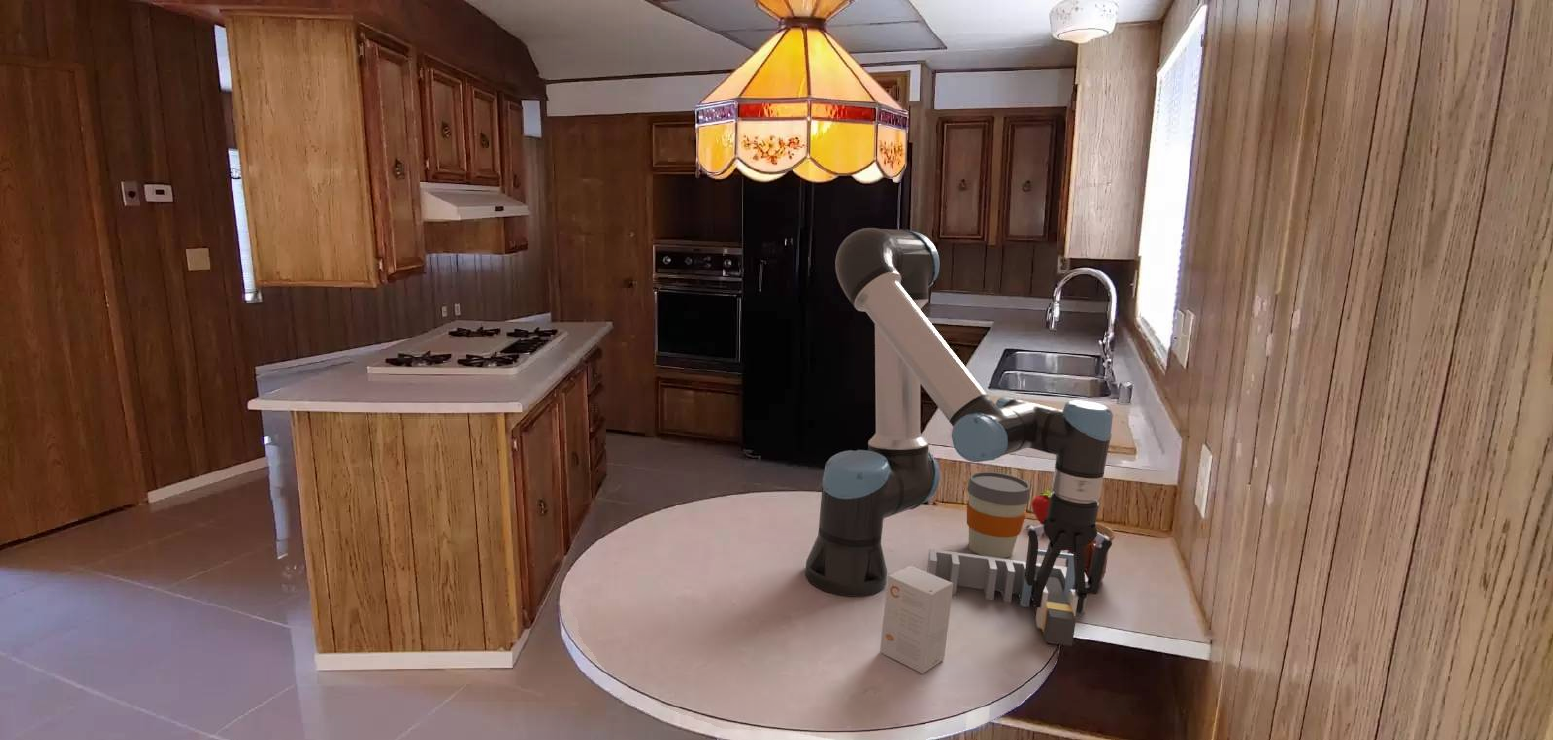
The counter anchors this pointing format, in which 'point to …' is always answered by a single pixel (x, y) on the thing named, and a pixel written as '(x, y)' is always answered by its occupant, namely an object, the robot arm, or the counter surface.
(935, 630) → the small box
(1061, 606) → the grey banded bar
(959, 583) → the grey slotted rack
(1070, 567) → the blue bezel
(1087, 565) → the mug
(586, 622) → the counter surface
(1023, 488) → the reusable coffee cup
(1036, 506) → the strawberry
